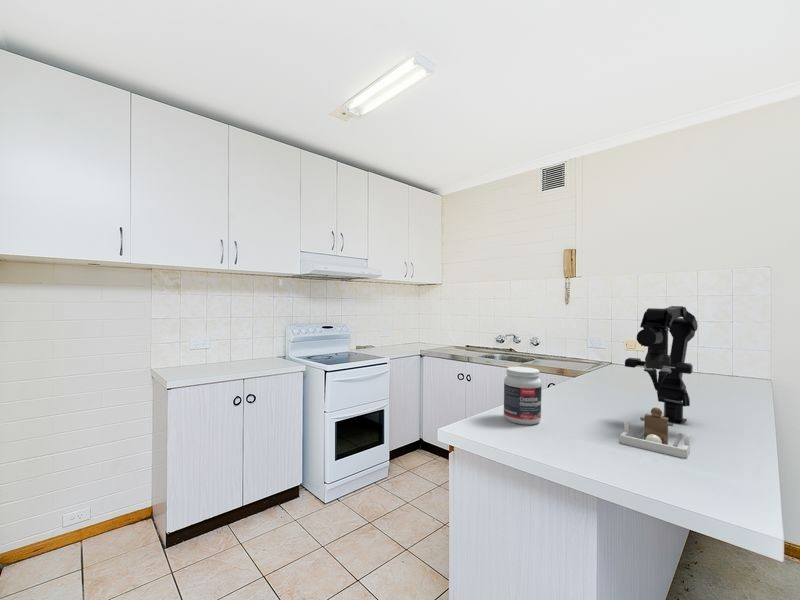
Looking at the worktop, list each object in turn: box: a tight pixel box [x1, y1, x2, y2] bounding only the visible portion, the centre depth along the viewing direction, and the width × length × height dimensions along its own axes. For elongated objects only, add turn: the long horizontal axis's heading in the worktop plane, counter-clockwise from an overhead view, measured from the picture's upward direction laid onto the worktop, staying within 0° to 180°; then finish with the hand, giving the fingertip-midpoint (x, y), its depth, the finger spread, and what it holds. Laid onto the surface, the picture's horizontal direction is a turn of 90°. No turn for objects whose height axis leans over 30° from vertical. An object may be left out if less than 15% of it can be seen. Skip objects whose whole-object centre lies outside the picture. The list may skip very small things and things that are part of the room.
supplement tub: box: [503, 366, 542, 426], centre depth 136 cm, size 13×13×18 cm
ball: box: [645, 434, 662, 444], centre depth 110 cm, size 4×4×4 cm
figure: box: [639, 407, 674, 445], centre depth 112 cm, size 4×8×11 cm, turn 47°
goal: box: [619, 421, 691, 459], centre depth 110 cm, size 7×16×5 cm, turn 47°
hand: (657, 390), depth 129 cm, fingers closed
